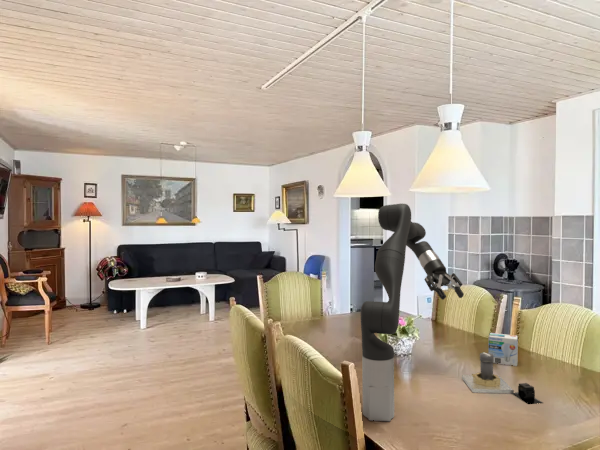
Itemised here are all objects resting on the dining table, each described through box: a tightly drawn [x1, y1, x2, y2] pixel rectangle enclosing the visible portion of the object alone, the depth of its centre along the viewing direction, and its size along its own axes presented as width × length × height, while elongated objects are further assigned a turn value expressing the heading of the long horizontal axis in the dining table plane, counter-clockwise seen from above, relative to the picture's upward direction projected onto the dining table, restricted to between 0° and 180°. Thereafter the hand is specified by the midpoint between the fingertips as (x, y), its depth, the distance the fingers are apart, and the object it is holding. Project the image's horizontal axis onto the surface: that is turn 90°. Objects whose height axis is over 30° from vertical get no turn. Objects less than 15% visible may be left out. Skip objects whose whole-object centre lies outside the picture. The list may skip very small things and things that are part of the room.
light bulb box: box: [487, 332, 519, 367], centre depth 174 cm, size 11×7×11 cm, turn 62°
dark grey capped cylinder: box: [479, 352, 494, 380], centre depth 149 cm, size 4×4×10 cm
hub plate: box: [461, 371, 514, 395], centre depth 148 cm, size 13×13×4 cm
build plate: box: [511, 382, 544, 405], centre depth 138 cm, size 12×7×5 cm, turn 7°
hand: (453, 297), depth 160 cm, fingers open, 8 cm apart
